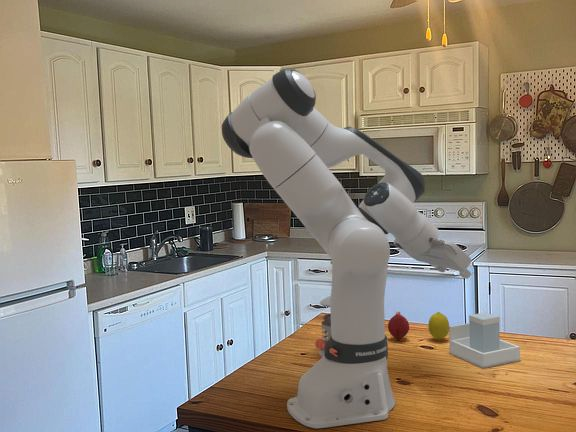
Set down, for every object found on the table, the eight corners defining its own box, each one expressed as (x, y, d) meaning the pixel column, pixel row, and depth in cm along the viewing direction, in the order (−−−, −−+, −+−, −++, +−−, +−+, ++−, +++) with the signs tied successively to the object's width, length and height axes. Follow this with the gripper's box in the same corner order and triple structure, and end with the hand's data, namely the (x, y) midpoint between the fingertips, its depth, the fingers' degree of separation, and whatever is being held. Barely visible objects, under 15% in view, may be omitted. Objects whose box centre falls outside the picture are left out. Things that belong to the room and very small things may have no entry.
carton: (483, 360, 144) (482, 319, 143) (469, 354, 149) (469, 315, 148) (500, 356, 146) (499, 316, 145) (485, 350, 151) (485, 312, 150)
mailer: (483, 368, 140) (482, 339, 139) (449, 353, 152) (449, 326, 151) (520, 360, 144) (519, 332, 143) (484, 346, 156) (484, 320, 155)
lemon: (452, 338, 163) (451, 310, 162) (445, 344, 159) (445, 315, 158) (432, 336, 166) (431, 308, 165) (425, 342, 161) (425, 313, 161)
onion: (411, 342, 162) (410, 314, 161) (390, 343, 162) (389, 314, 161) (407, 336, 167) (406, 308, 167) (387, 337, 167) (386, 309, 167)
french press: (353, 345, 161) (350, 255, 159) (359, 360, 150) (356, 262, 147) (317, 347, 161) (313, 257, 158) (321, 362, 149) (317, 264, 147)
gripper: (454, 230, 130) (491, 269, 134) (404, 223, 149) (438, 257, 153) (437, 253, 129) (475, 291, 133) (389, 242, 148) (424, 276, 152)
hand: (455, 272), depth 143 cm, fingers open, 8 cm apart
